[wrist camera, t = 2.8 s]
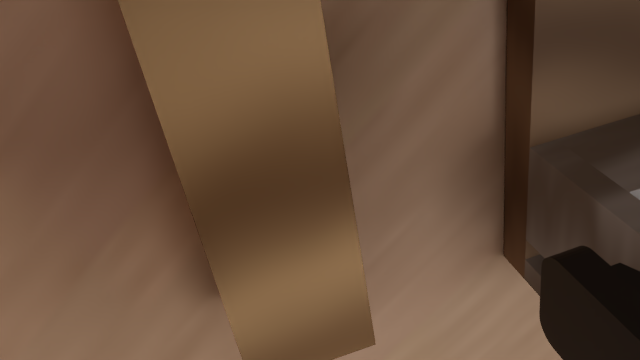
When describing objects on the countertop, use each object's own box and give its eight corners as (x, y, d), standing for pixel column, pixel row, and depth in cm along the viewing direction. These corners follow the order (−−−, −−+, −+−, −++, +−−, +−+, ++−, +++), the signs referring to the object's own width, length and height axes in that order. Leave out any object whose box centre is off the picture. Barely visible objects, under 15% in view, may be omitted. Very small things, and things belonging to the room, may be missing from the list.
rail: (100, -91, 15) (96, -61, 11) (257, -125, 15) (303, -108, 12) (228, 291, 22) (252, 387, 18) (332, 257, 22) (375, 344, 19)
